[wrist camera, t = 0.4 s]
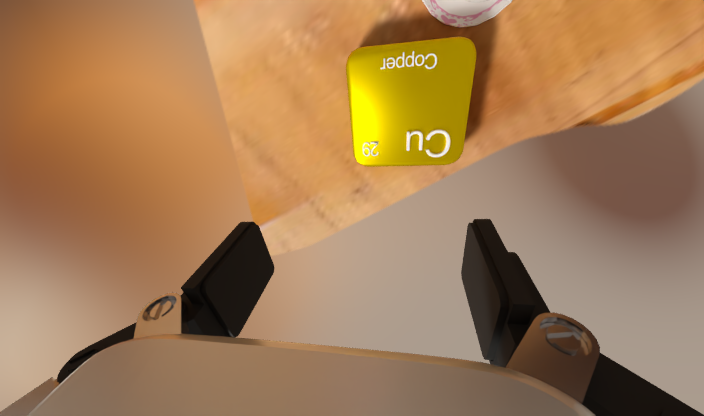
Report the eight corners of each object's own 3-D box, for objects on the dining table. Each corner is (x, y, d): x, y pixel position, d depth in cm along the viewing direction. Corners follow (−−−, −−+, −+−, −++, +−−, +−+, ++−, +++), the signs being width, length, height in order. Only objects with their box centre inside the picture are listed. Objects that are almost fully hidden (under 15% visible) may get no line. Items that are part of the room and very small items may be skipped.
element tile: (471, 35, 31) (481, 33, 27) (455, 154, 38) (462, 166, 34) (349, 48, 33) (342, 49, 29) (358, 157, 41) (353, 169, 37)
